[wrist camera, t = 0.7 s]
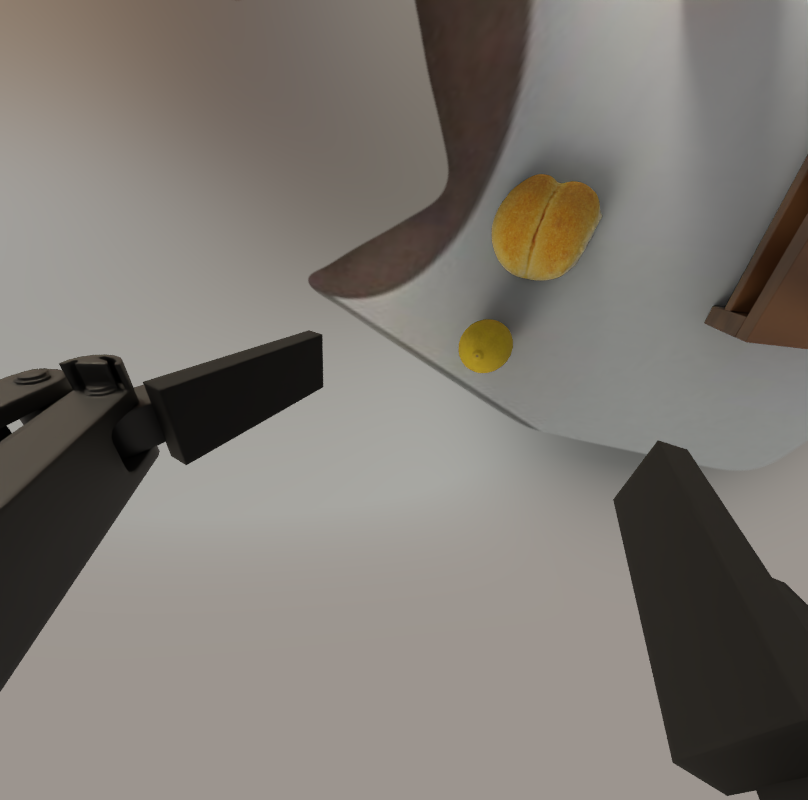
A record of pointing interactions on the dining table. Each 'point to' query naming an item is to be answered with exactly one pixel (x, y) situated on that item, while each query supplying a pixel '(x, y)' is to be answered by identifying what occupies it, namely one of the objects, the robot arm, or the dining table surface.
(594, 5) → the dining table surface
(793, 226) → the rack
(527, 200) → the bread roll
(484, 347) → the lemon
